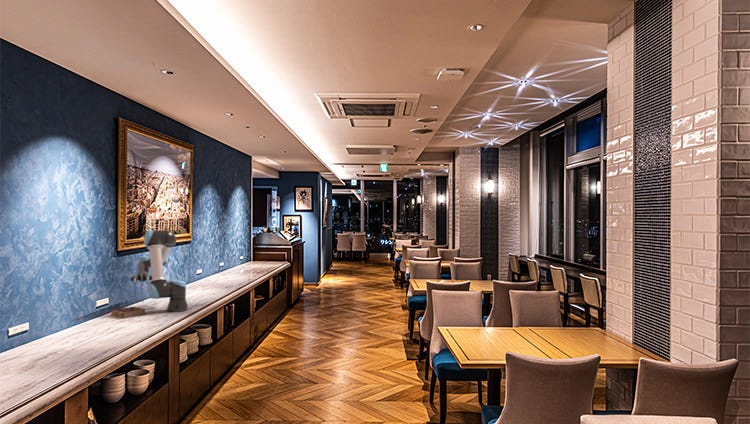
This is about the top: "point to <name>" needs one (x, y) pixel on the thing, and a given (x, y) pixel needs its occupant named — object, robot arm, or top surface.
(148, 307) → the slate tile
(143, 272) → the citrus juicer
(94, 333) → the top surface
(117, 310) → the holder frame
